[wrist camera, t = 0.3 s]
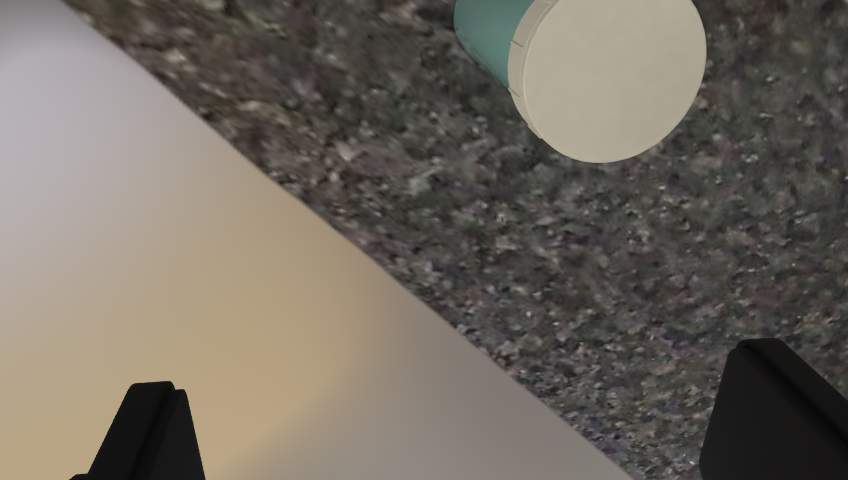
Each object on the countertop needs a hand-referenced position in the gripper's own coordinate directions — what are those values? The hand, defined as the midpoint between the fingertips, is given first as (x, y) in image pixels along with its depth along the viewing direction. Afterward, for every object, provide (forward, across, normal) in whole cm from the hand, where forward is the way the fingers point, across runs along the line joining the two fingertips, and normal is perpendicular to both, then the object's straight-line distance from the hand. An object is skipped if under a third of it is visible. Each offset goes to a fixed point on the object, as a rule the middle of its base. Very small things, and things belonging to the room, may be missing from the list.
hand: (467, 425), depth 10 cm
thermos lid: (+14, -8, -3) cm, 17 cm away
